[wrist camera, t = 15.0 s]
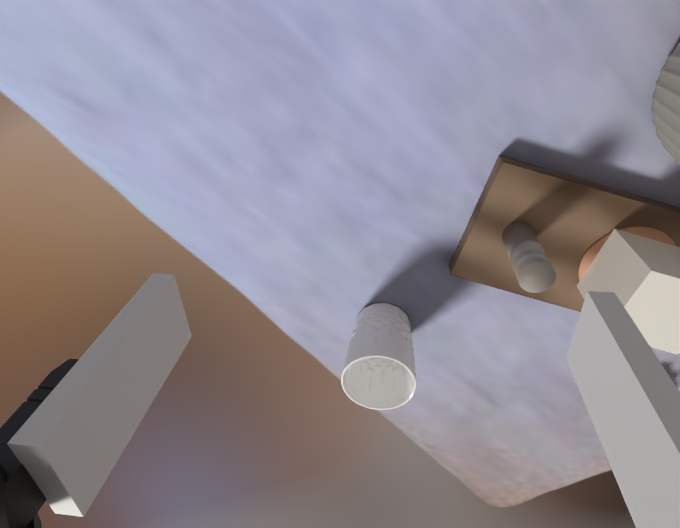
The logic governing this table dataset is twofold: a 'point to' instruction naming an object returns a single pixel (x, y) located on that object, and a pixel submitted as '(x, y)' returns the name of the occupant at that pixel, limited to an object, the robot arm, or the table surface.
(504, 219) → the board
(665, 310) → the matte off-white cube
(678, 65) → the canister
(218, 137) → the table surface
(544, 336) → the table surface
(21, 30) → the table surface
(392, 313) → the white cup
